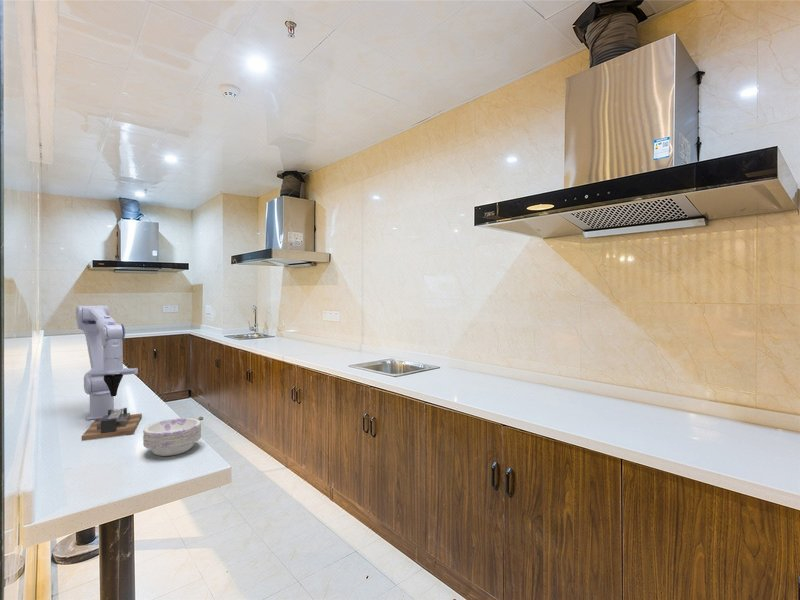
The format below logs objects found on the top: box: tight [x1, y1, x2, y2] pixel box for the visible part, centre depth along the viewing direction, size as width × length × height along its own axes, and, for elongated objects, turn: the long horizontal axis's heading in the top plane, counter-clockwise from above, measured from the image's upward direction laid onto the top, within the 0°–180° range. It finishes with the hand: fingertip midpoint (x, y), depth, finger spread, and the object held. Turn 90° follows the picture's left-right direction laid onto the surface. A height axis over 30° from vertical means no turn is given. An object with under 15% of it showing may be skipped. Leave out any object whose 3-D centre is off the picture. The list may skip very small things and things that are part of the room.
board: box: [81, 413, 143, 442], centre depth 141 cm, size 20×14×2 cm
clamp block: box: [97, 407, 131, 433], centre depth 140 cm, size 16×8×4 cm, turn 26°
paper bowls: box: [142, 417, 202, 457], centre depth 122 cm, size 15×15×8 cm
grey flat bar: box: [107, 408, 123, 420], centre depth 141 cm, size 14×3×1 cm, turn 26°
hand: (113, 395), depth 145 cm, fingers closed
